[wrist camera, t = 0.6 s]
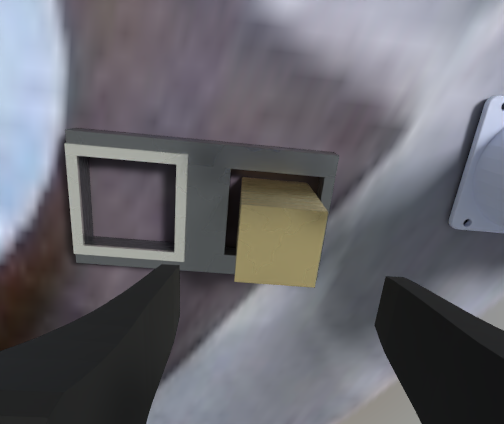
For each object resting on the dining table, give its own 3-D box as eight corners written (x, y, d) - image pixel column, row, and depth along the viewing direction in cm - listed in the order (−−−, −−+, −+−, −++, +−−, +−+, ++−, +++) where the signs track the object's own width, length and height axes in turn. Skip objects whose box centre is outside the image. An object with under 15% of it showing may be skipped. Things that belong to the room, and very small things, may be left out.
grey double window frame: (333, 152, 20) (340, 156, 19) (312, 271, 22) (317, 281, 21) (75, 127, 19) (63, 130, 18) (85, 253, 22) (74, 264, 20)
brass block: (307, 182, 21) (328, 212, 15) (297, 242, 22) (314, 287, 17) (242, 176, 20) (241, 204, 15) (236, 237, 22) (234, 281, 16)
